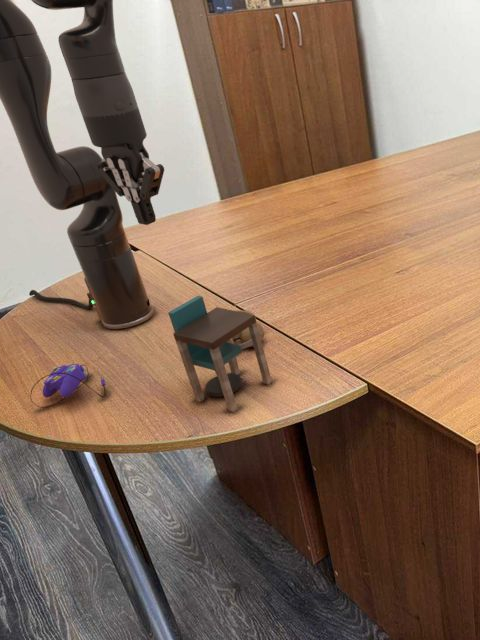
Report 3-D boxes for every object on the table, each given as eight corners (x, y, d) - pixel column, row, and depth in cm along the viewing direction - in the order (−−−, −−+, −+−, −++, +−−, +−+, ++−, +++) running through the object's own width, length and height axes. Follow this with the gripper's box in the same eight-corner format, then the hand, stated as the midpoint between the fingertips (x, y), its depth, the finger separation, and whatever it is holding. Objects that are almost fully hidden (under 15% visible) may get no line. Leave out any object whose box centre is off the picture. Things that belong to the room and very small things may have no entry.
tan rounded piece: (242, 305, 126) (269, 319, 114) (249, 328, 128) (277, 344, 116) (183, 324, 120) (206, 342, 109) (192, 348, 122) (215, 368, 110)
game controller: (11, 388, 103) (63, 348, 109) (49, 424, 107) (97, 383, 114) (35, 388, 97) (89, 345, 103) (74, 427, 101) (124, 383, 107)
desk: (196, 401, 104) (172, 333, 97) (236, 371, 111) (216, 306, 104) (233, 412, 101) (211, 343, 94) (272, 381, 107) (254, 315, 101)
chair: (195, 392, 106) (167, 312, 98) (222, 373, 110) (197, 295, 102) (224, 400, 103) (198, 319, 95) (251, 381, 107) (228, 301, 100)
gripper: (162, 104, 94) (195, 219, 103) (102, 102, 100) (138, 211, 109) (118, 116, 89) (157, 236, 98) (56, 112, 94) (99, 226, 103)
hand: (147, 222), depth 103 cm, fingers closed
